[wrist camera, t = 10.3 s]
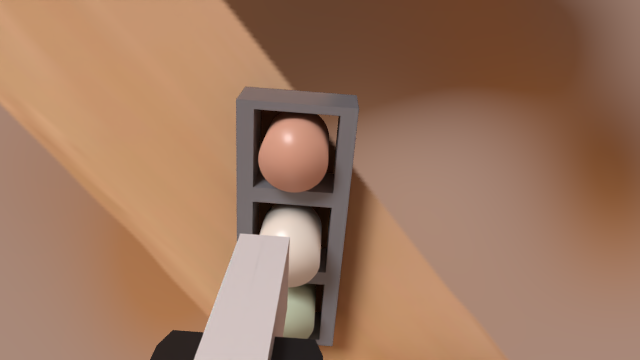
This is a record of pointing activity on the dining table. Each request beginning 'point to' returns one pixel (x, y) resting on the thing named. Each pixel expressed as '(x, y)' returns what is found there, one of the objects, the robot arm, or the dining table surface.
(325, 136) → the terracotta button
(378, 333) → the dining table surface
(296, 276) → the cream rounded dome
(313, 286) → the sage button
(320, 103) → the button panel
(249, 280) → the robot arm
